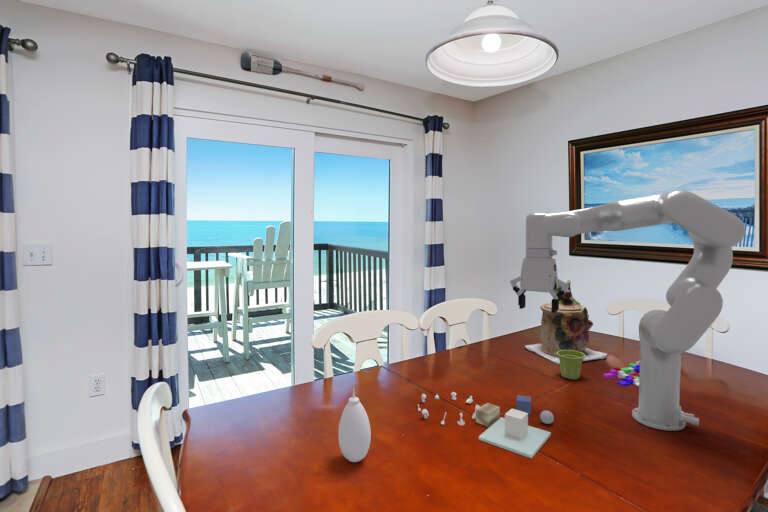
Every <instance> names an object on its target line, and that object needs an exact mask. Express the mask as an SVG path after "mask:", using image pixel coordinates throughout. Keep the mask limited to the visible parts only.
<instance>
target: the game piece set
mask: <svg viewBox="0 0 768 512" xmlns="http://www.w3.org/2000/svg"><path fill="white" fill-rule="evenodd" d="M450 395H451V400H454V401H456V400H457V397H456V396H457V393H456V392H454V391H452V392H451V393H450ZM426 398H427V395H426V394H425V393H422V394H421V402H422V404H424V403H425V402H426V400H425V399H426ZM434 398H435V400H439V399H440V396H439V395H438V394H436V395H434ZM473 402H474V400H473V396H472V395H470V396H469V398H467V399H466V401H465V403H467V404H471V403H473ZM417 407H418V408H417V410H418V412H419V411H420V412H421V414H422V415H423V417H424V419H426V420H427V419H428V417H429V416H430V414H429V411H428V410H427V409H426V408H423V409H421V407H420V404H417ZM479 407H481V405H479V404H475V409H474V410H475V411H474V412H473V413H472V416H471V417H472V420H473V419H474V420H476V409H477V408H479ZM446 416H447V412H446V411H445V412H444V416H443V419H442V420H441V422H440V425H442V426H444V425H445V423H446V422H445V419H446ZM459 416H460V418H459V419H460V420H457V424H458V425H459V426H464V425H465V424H466V423H465V420H463V416H464V415H463V413H462V412H460V413H459Z"/></svg>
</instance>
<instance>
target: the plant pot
mask: <svg viewBox="0 0 768 512" xmlns="http://www.w3.org/2000/svg"><path fill="white" fill-rule="evenodd" d="M557 354H558V357H559V360H560V364H559V367H560V374H561V375H560V376H561V377H563V379H568V380H579V379H580V378H581V377H580V376H581V372H582V366H583V362H584V361H583V359H584V357H585V354H583V353H581V352H578V351H573V350H560V351H558V352H557Z"/></svg>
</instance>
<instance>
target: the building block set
mask: <svg viewBox="0 0 768 512" xmlns="http://www.w3.org/2000/svg"><path fill="white" fill-rule="evenodd" d="M602 375H603V376H602V377H603V378H605V379H608V380H609V379H615V378H619V379H622V380H619V381H616V384H618V385H619V386H622V387H625V386H626V387H627V386H631V385H634V386H636V387H639V376H640V360H638V361H635V363H633V362H631V363H628V367H621V368H620V367H613V368H612V369H610V371H609V372H608V373H603V374H602ZM623 379H624V380H623Z"/></svg>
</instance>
